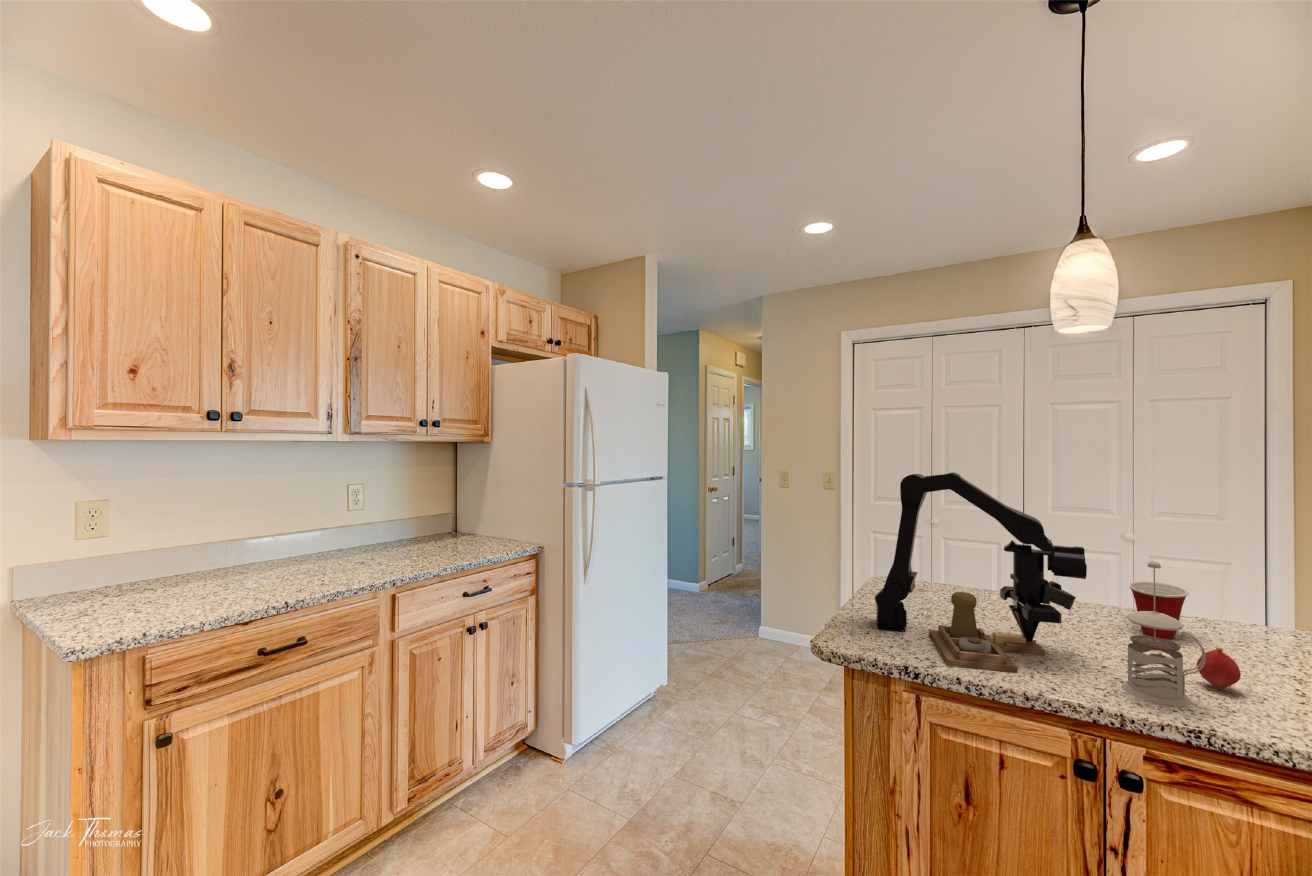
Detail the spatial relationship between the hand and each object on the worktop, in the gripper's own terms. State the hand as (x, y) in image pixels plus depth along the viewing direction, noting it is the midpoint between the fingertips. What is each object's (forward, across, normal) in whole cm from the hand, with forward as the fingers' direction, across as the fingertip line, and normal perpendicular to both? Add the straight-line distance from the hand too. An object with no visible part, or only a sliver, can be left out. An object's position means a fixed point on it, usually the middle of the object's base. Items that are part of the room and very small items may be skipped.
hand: (1028, 641), depth 123 cm
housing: (+2, -4, +8) cm, 10 cm away
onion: (+2, -11, -28) cm, 30 cm away
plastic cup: (+2, +20, -34) cm, 39 cm away
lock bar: (+1, 0, +4) cm, 4 cm away
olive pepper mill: (+1, 0, +13) cm, 13 cm away
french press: (+2, -17, -16) cm, 24 cm away
